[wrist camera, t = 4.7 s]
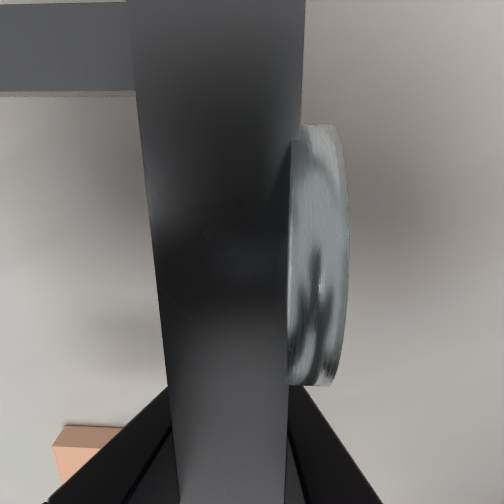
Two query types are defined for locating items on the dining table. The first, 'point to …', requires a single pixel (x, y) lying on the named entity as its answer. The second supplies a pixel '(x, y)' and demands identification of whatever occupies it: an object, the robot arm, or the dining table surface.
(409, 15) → the dining table surface
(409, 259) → the dining table surface
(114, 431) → the display stand
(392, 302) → the dining table surface
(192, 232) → the glasses frame
